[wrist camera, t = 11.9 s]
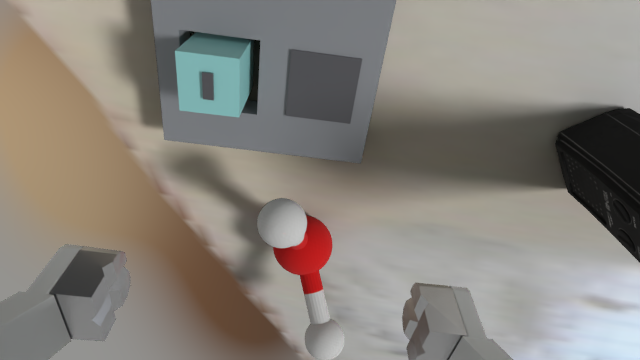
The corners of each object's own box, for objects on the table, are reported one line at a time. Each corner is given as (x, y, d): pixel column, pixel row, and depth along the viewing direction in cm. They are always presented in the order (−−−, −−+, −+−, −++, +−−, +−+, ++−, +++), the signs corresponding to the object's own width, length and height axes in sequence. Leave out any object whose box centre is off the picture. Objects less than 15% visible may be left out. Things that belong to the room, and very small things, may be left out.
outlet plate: (159, -65, 26) (143, -63, 24) (395, -29, 27) (402, -24, 25) (174, 126, 34) (163, 141, 32) (358, 148, 35) (360, 164, 33)
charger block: (200, 28, 30) (173, 51, 24) (254, 35, 30) (239, 59, 25) (202, 80, 32) (178, 111, 27) (252, 86, 32) (238, 118, 27)
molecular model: (347, 281, 44) (352, 365, 36) (299, 288, 45) (292, 372, 37) (310, 144, 35) (305, 215, 26) (249, 155, 36) (226, 228, 27)
